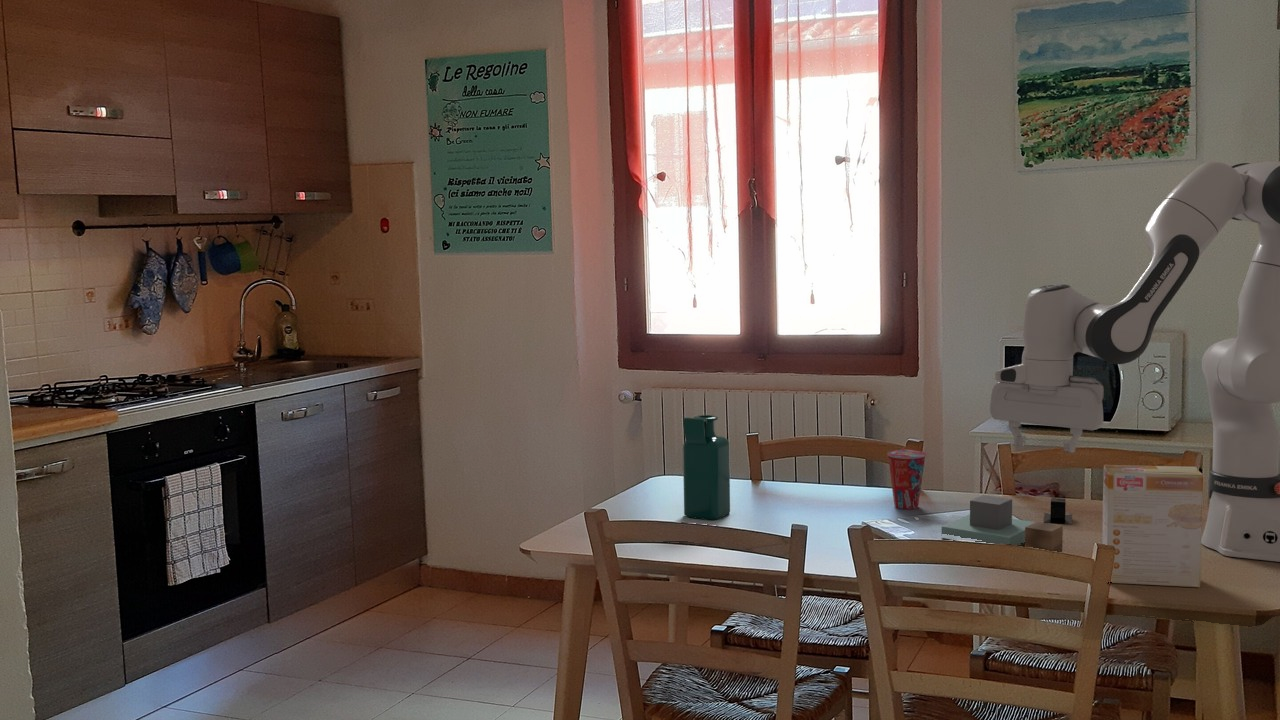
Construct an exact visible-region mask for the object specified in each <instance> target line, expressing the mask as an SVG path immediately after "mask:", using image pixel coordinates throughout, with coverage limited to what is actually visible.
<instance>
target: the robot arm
mask: <svg viewBox="0 0 1280 720" xmlns="http://www.w3.org/2000/svg"><path fill="white" fill-rule="evenodd" d="M1231 220H1233V221H1244V222H1250V223H1255V224H1257V226H1258V234H1259V237H1258V243H1257V245H1256V248H1255V250H1254V252H1253V255H1252V258H1251V261H1250V263H1249V267H1248V270H1247V272H1246V275H1245V278H1244V281H1243V284H1242V287H1241V290H1240V293H1239V295H1238V298H1237V309H1238V324H1237V332H1236V333H1237V334H1236V337H1230V338H1225V339H1221V340H1220V341H1217V342H1215V343H1213V344H1211V345H1210V346H1209V347H1207V349H1206V350H1205V352H1204V353H1203V355H1202V358H1201V359H1202V360H1201V370H1202V373H1203V375H1204V376H1203V377H1204V378H1205V382H1206V390H1207V393H1208V394H1207V395H1208V402H1209V407H1210V415H1211V421H1212V433H1213V435H1212V436H1213V437H1212V469H1210V470H1209V476H1208V485H1207V486H1208V489H1207V490H1208V498H1209V507H1208V512H1207V518H1206V522H1205V526H1204V530H1203V531H1202V537H1201V545H1203V546H1204V547H1207V548H1209V549H1212V550H1215V551H1217V552H1219V553H1220V555H1223V556H1226V557H1230V558H1231V557H1232V558H1233V557H1234V558H1242V559H1249V560H1250V559H1251V560H1261V561H1269V562H1279V563H1280V473H1279V472H1280V471H1279V469H1280V468H1279V467H1280V429H1279V427H1278V425H1277V423H1276V420H1275V416H1274V411H1273V406H1272V404H1275V403H1280V161H1277V160H1276V161H1275V160H1274V161H1273V160H1266V161H1261V162H1252V163H1250V162H1245V163H1244V162H1243V163H1238V164H1234V165H1232V166H1231V165H1229V164H1226V163H1224V162H1220V161H1207V162H1205V163H1202V164H1200V165H1199V166H1197V167H1196V168H1195V169H1194V170H1193V171H1191V172H1190V173H1189V174H1188V175H1187V176H1185V177H1184V178H1183V179H1182V180H1181V181H1180V182H1179V183H1178V184H1177V185H1176V186H1175V187H1174V188H1173V189H1172V190H1171V191H1170V193H1168V194H1167V195H1166V197H1165V198H1164V199H1163V200H1162V202H1160V204H1159V205H1158V206H1157V207H1156V209H1155V210H1154V212H1153V213H1152V214H1151V216H1150V218H1149V219H1148V220H1147V221H1148V222H1147V223H1146V225H1145V227H1144V239H1145V243H1146V246H1147V248H1148V250H1149V251H1150V253H1151V255H1152V256H1151V261H1150V263H1149V264H1148V267H1147V268H1146V270H1145V271H1144V272H1143V273H1142V274H1141V276H1140V278H1139V279H1138V281H1137V282H1136V283H1135V284H1134V285H1133V287H1132V289H1131V290H1130V291H1129V293H1128V294H1127V295H1126V297H1124V298H1123V299H1121V301H1119V302H1116V303H1114V304H1106V303H1101V302H1099V301H1097V300H1094V299H1093V298H1089V297H1087V296H1085V295H1083V294H1081V293H1079V292H1078V291H1077V290H1075V289H1074V288H1073V287H1072V286H1071V285H1068V284H1062V283H1061V284H1060V283H1059V284H1050V285H1043V286H1040V287H1037V288H1035V289H1032V290H1031V291H1030V292H1029V293H1028V295H1027V297H1026V301H1025V304H1024V305H1025V306H1024V313H1023V320H1022V337H1023V340H1024V347H1023V351H1022V355H1021V363H1018V364H1017V363H1016V364H1014V365H1012V366H1008V367H1003V368H1001V369H998V370H996V371H995V373H994V374H995V375H994V377H995V381H996V383H995V384H994V385H993V388H992V391H991V395H990V403H989V404H990V405H989V413H990V416H991V417H992V419H993V420H997V421H998V420H999V421H1006V422H1008V429H1009V430H1010V432H1011V434H1012V437H1013V444H1014V446H1016V447H1024V446H1026V443H1027V442H1026V437H1027V436H1026V435H1022V433H1021V430H1020V428H1019V427H1021V425H1022V423H1023V424H1025V423H1026V424H1032V425H1039V426H1040V425H1041V426H1043V425H1044V426H1048V427H1049V426H1050V427H1058V428H1067V429H1070V430H1069V432H1070V433H1069V434H1070V435H1072V436H1071V438H1070V439H1069V441H1065V442H1063V452H1064V453H1069V454H1074V453H1075V452H1076V449H1077V448H1076V447H1077V446H1076V445H1077V444H1076V443H1077V442H1078V441H1079V439H1080V438H1081V436H1082V435H1083V430H1084V431H1085V430H1086V431H1095V430H1098V429H1100V428H1101V427H1102V426H1103V424H1104V408H1103V407H1104V406H1103V399H1104V395H1105V393H1104V392H1105V391H1104V385H1103V383H1102V382H1101V381H1098V380H1097V379H1096V378H1094V377H1082V376H1075V375H1074V376H1073V373H1074V356H1075V354H1076V353H1082V354H1085V355H1088V356H1090V357H1094V358H1098V359H1099V360H1102V361H1104V362H1106V363H1108V364H1113V365H1125V364H1128V363H1130V362H1131V363H1132V362H1133V361H1135V360H1137V359H1138V358H1139V357H1141V356H1142V354H1143V353H1144V352H1145V351H1146V349H1147V348H1148V346H1149V343H1150V341H1151V338H1152V335H1153V331H1154V328H1155V326H1156V324H1157V322H1158V320H1159V318H1160V317H1161V315H1162V314H1163V312H1164V311H1165V309H1166V308H1167V307H1168V305H1169V304H1170V303H1171V302H1172V300H1173V298H1174V297H1175V295H1176V294H1177V293H1178V292H1179V290H1180V289H1181V287H1182V285H1183V284H1184V283H1185V282H1186V280H1187V279H1188V278H1189V276H1190V274H1191V273H1192V271H1193V269H1194V268H1195V266H1196V264H1197V262H1198V261H1199V259H1200V257H1201V256H1202V255H1203V253H1204V252H1205V251H1206V250H1207V248H1208V247H1209V246H1210V244H1211V243H1212V242H1213V241H1214V239H1216V237H1217V236H1218V235H1219V233H1220V232H1221V231H1222V230H1223V229H1224V227H1225V226H1226V225H1227V223H1228V222H1229V221H1231Z"/></svg>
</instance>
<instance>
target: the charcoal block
mask: <svg viewBox="0 0 1280 720" xmlns="http://www.w3.org/2000/svg"><path fill="white" fill-rule="evenodd" d="M969 515H970V526H977V527H983V528H989V529H995V530H1000V529H1002V528H1004V527H1006V526H1009V525H1011V524H1012V519H1013V498H1008V497H1000V496H993V495H986V494H983V495H980V496H978V497H976V498H972V499H971V500H970V501H969Z"/></svg>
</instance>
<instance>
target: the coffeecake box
mask: <svg viewBox="0 0 1280 720" xmlns="http://www.w3.org/2000/svg"><path fill="white" fill-rule="evenodd" d="M1102 476H1103V477H1102V478H1103V482H1102V483H1103V484H1102V487H1103V488H1102V489H1103V490H1102V530H1101V532H1102V533H1101V534H1102V537H1101V538H1102V540H1101V544H1105V545H1113V546H1115V560H1114V568H1113V576H1112V583H1111V584H1124V585H1125V584H1127V585H1128V584H1129V585H1142V586H1143V585H1144V586H1145V585H1146V586H1163V587H1164V586H1167V587H1184V588H1186V587H1187V588H1200V587H1201V573H1202V572H1201V571H1202V543H1201V538H1202V535H1203V531H1202V528H1203V497H1204V496H1203V493H1204V492H1203V491H1204V489H1203V487H1204V474H1203V473H1202V472H1201V471H1199V470H1198V468H1197V466H1180V465H1179V466H1176V465H1175V466H1173V465H1171V466H1170V465H1169V466H1167V465H1165V466H1164V465H1134V464H1133V465H1131V464H1130V465H1125V464H1121V465H1119V464H1104V465H1103V475H1102Z"/></svg>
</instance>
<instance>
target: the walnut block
mask: <svg viewBox="0 0 1280 720" xmlns="http://www.w3.org/2000/svg"><path fill="white" fill-rule="evenodd" d="M1034 522H1035V523H1033V524H1031V525H1029V526H1027V527H1025V543H1024V547H1025V546H1026V547H1033V548H1039V549H1045V550H1049V551H1057V552H1062V553H1063V535H1064V532H1063V531H1064V529H1063V528H1064V526H1063V525H1061V524H1050V523H1043V522H1040V521H1034Z"/></svg>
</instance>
